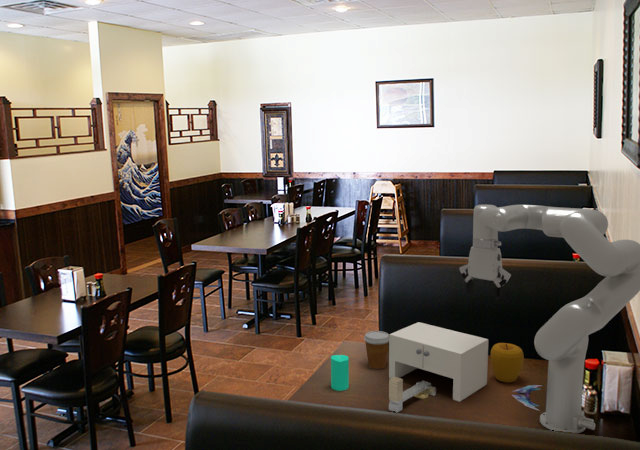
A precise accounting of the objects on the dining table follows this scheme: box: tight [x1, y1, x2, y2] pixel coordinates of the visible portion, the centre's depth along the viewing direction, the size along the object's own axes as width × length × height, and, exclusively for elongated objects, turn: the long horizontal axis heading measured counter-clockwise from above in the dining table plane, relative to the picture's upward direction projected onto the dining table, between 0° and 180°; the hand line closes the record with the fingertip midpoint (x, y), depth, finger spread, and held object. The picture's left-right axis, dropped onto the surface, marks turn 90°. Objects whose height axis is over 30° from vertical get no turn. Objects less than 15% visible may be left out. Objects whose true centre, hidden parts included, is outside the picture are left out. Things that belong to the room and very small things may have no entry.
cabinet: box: [388, 321, 489, 403], centre depth 206 cm, size 28×19×16 cm
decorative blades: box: [511, 384, 543, 411], centre depth 195 cm, size 20×1×10 cm
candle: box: [330, 354, 350, 392], centre depth 202 cm, size 6×6×12 cm
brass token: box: [413, 390, 430, 400], centre depth 196 cm, size 5×5×1 cm
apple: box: [490, 342, 525, 384], centre depth 207 cm, size 11×11×13 cm
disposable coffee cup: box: [363, 330, 389, 370], centre depth 220 cm, size 10×10×12 cm
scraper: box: [388, 377, 437, 414], centre depth 191 cm, size 19×7×10 cm, turn 137°
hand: (483, 296), depth 192 cm, fingers open, 9 cm apart
